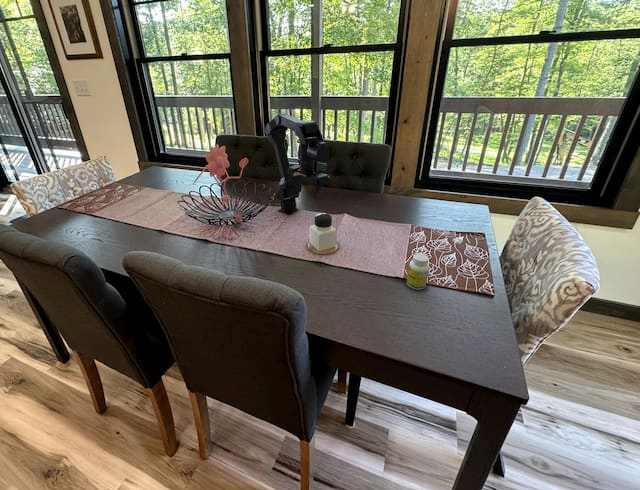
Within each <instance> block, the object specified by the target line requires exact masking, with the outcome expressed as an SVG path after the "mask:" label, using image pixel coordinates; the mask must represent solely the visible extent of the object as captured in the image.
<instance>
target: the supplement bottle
mask: <svg viewBox="0 0 640 490" xmlns="http://www.w3.org/2000/svg"><path fill="white" fill-rule="evenodd" d="M429 259H430V258H429V257H428V255H426V254H424V253H418V252H417V253H414V254H413V257H412V259H411V260H410V262H409V264H408V269H407V276H406V283H405V284H406V285H407V286H408V287H409V288H410V289H413V290H418V291H419V290H420V291H421V290H423V289H425V288H426V286H427V283H428V277H429V273H430V266H431V265H430V264H429Z"/></svg>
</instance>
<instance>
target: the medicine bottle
mask: <svg viewBox="0 0 640 490" xmlns="http://www.w3.org/2000/svg"><path fill="white" fill-rule="evenodd" d="M313 220H314V224H313V225H312V224H311V225H310V226H309V241H310V243H311V244H312V245H313V246H314V247H315V248H316V249H317V250H318V251H319V252H320V251H323V250H326V249H330V248H333V247H336V243H337V234H338V233H337V228H335V227H334V226H332V225H333V216H332V215H331V214H329V213H326V212H321V213H317V214H315V216H314V219H313Z"/></svg>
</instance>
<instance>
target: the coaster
mask: <svg viewBox="0 0 640 490" xmlns="http://www.w3.org/2000/svg"><path fill="white" fill-rule="evenodd" d="M306 247H307V249H308V250H309V251H310V252H311V253H313V254H317V255H330V254H334V253H335V252H336V251H338V248H339V245H338V243H337V242H336V247H333V248H330V249H326V250H323V251H320V252H319V251H318V250H317V249H316V248H315V247H314V246H313V245H312V244H311V243H310V240H309V241H308V242H307V246H306Z"/></svg>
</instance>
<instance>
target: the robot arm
mask: <svg viewBox="0 0 640 490" xmlns="http://www.w3.org/2000/svg"><path fill="white" fill-rule="evenodd" d="M288 129H289V130H290V131H292V132H293V133H294V135H295V137H297V138H298V139H297V140H296V143H297V144H299V158H298V159H297V160H296V161H297V163H299V164H295V165H291V164H290V161H289V157H288V152H287V148H286V147H287V146H286V144H285V143H286V142H285V141H286V138H287V131H288ZM264 133H265V135H266V137H267V141H268V142H269V143H270V144H271V145H272V146H273V150H274V153H275V158H276V161H277V166H278V170H279V174H280V182H279V190H278V191H277V193H276V198H277V200H279V201H280V208H279V209H278V212H281V213H284V214H287V215H291V214H293V213H295V212H297V211H298V210H299V208H297V202H296V201H297V198H298V199H299V198H300V193H301V192H302V190H303V189H302V188H303V178H304V177H306V178H309V179H310V182H311V183H310V188H311V193H312V197H313V199H314V200H316V199H318V196H319V193H320V191H321V189H322V187H323V186H324V185H326V184H329V183H330V179H331V178H330V175H329V174H326V173H325V172H326V169H327V165H328V164H327V163H326V162H327V161H328V160H329V159H330V156H331V151H330V148H329V147H328V146H326V142H324V138H323V134H322V132H321V130H320V127H319V125H318V123H317V122H316V121H315V120H303V119H300V118H297V117H295V116H292V115H290V114H289V113H286V112H284V113H283V112H282V113H277V114H276V115H275V116H274V117H273V118H272V119H271V120H270V121H268V122H267V124H266V126H265V127H264ZM319 172H320V173H319Z"/></svg>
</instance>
